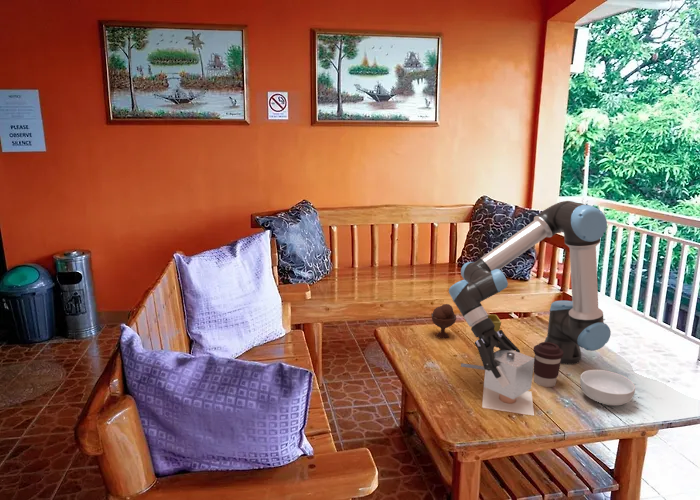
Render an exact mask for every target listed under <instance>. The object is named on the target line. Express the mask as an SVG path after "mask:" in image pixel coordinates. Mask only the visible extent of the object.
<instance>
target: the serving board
mask: <svg viewBox="0 0 700 500" xmlns="http://www.w3.org/2000/svg"><path fill="white" fill-rule="evenodd" d="M532 393H533V392H532V391H530V390H528V391H526V392H525V393H523V394H521V395H520V396H518V397H517V399H516V402H515V403H512V404H509V403H504V402H502V401H500V399H499V393H497V392H495V391H493V390H491V389H488V388H486V387H484V386H483V392H482V403H481V405H482V406H481V408H483V409H490V410H495V411H496V410H497V411H502V412H508V413H509V412H510V413H514V414H522V415H526V416H528V415H529V416H535V412H534V403H533V394H532Z"/></svg>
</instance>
